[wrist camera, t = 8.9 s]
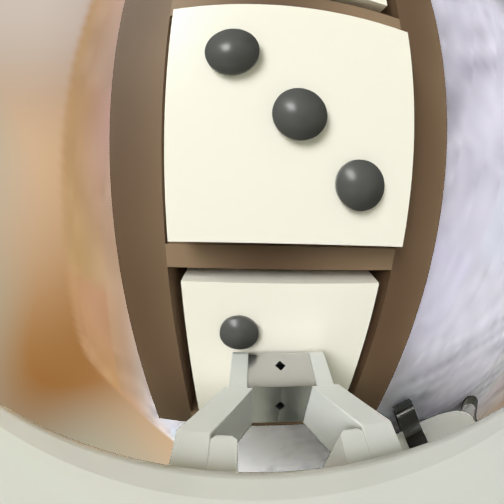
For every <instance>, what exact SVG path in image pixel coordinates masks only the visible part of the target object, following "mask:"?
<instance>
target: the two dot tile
mask: <svg viewBox="0 0 504 504" xmlns="http://www.w3.org/2000/svg"><path fill="white" fill-rule="evenodd" d="M378 286H379V282H378V281H377V280H376V279H375V278H374V277H373V275H372V274H371V273H370V272H369V271H368V270H277V269H225V268H187V270H186V272H185V274H184V276H183V278H182V280H181V288H182V298H183V307H184V316H185V324H186V332H187V340H188V347H189V354H190V361H191V367H192V374H193V380H194V386H195V391H196V397H197V402H198V408H199V409H201V408H202V407H203V406H204V405H206V404H207V403H208V402H209V401H210V400H211V399H212V398H213V397H214V396H215V395H216V394H217V393H219V392H220V391H221V390H222V389H223V388H224V387H229V381H230V369H231V358H232V353H233V352H245V353H248V352H251V353H302V352H315V351H322V352H324V355H325V358H326V361H327V364H328V367H329V370H330V373H331V376H332V379H333V382H334V384H339V385H340V386H342V387H343V388H345V389H346V390H347V391H348V389H349V386H350V384H351V381H352V378H353V375H354V372H355V369H356V366H357V363H358V360H359V357H360V354H361V351H362V347H363V344H364V341H365V337H366V334H367V330H368V327H369V323H370V319H371V315H372V311H373V307H374V303H375V299H376V295H377V291H378Z"/></svg>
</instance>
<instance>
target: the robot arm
mask: <svg viewBox="0 0 504 504" xmlns="http://www.w3.org/2000/svg"><path fill="white" fill-rule="evenodd" d="M297 421H303V423H304V424H305V425H306V426H307V427H308V428H309V430H310V431H311V432H312V433H313V434H314V435H315V436H316V437H317V438H318V439H319V440H320V441H321V442H322V444H323V445H324V446H325V447H326V448H327V449H328V450H329V451H330V452H331V453H330V455H329V457H328V459H327V461H326V463H325V464H324V466H323V468H318V469H309V470H298V471H284V472H238V449H237V443H238V442H239V440H240V439H241V438H242V436H243V435H244V434H245V432H246V431H247V430H248V428H249V427H250V426H251V424H252V423H264V422H297ZM0 504H504V407H503V408H501V409H499V410H497V411H496V412H494V413H492V414H490V415H488V416H487V417H485V418H483V419H481V420H479V421H477V422H475V423H473V424H471V425H469V426H467V427H464V428H462V429H460V430H458V431H455V432H453V433H451V434H448V435H446V436H444V437H441V438H439V439H436V440H433V441H431V442H428V443H425V444H422V445H419V446H416V447H413V448H410V449H407V450H404V451H403V450H402V448H401V445H400V443H399V440H398V438H397V435H396V433H395V430H394V428H393V426H392V423H391V421H390V420H389V419H387V418H386V417H384V416H383V415H381V414H380V413H379V412H377V411H376V410H374V409H373V408H371V407H370V406H368V405H367V404H366V403H364V402H363V401H361V400H360V399H358V398H357V397H356V396H354V395H353V394H351V393H350V392H349V391H347V390H346V389H345V388H343V387H342V386H340V385H339V384H334V382H333V379H332V376H331V373H330V370H329V367H328V364H327V361H326V358H325V355H324V352H322V351H315V352H302V353H251V352H248V353H245V352H233V353H232V358H231V369H230V381H229V387H224V388H223V389H222V390H221V391H220V392H219V393H217V394H216V395H215V396H214V397H213V398H212V399H211V400H210V401H209V402H208V403H207V404H206V405H204V406H203V407H202V408H201V409H200V410H199V411H198V412H197V413H196V414H194V415H193V416H192V417H191V418H190V419H189V420H188V421H186V422H185V423H184V424H183V425H182V426H181V427H179V428H178V429H177V431H176V436H175V440H174V444H173V449H172V453H171V458H170V463H169V465H164V464H159V463H153V462H149V461H144V460H139V459H135V458H131V457H127V456H123V455H119V454H116V453H112V452H108V451H105V450H102V449H99V448H96V447H93V446H90V445H87V444H84V443H81V442H79V441H76V440H73V439H71V438H68V437H66V436H63V435H61V434H58V433H56V432H53V431H51V430H49V429H47V428H45V427H43V426H40V425H38V424H36V423H34V422H32V421H30V420H28V419H26V418H24V417H23V416H21V415H19V414H17V413H15V412H13V411H12V410H10V409H8V408H6V407H5V406H3V405H1V404H0Z"/></svg>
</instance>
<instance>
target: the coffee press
mask: <svg viewBox="0 0 504 504" xmlns="http://www.w3.org/2000/svg"><path fill="white" fill-rule="evenodd" d="M469 403H471V404H473V405H474V406H475V410H474V416H473V418H472V416H471V415H470V414H468V413H466V412H463V411H462V410H463V408H464V406H465V405H466V404H469ZM477 404H478V400H477V398H476V397H475V396H468V397H467V398H465V400H464V401H463V404H462V407H461V410H460V411H451V412H446V413H442V414H439V415H436V416H433V417H431V418H428V419H426V420H424V421H421V422H419V420H418V417H417V414H416V412H415V409H414V406H413V404H412V402H411V401H410V399H408V400H406V401H404V402H402V403H400V404H398V405H396V406H394V407H393V411H394V414H395V417H396V420H397V422H398V425H399V429H400V433H398V434H396V435H397V438H398V440H399V443H400V445H401V448H402V450H403V451H404V450H407V449H410V448H413V447H416V446H419V445H422V444H425V443H428V442H431V441H433V440H436V439H439V438H441V437H444V436H446V435H448V434H451V433H453V432H455V431H458V430H460V429H462V428H464V427H467V426H469V425H471V424H473V423H475V422H477V418H476V411H477Z"/></svg>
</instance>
